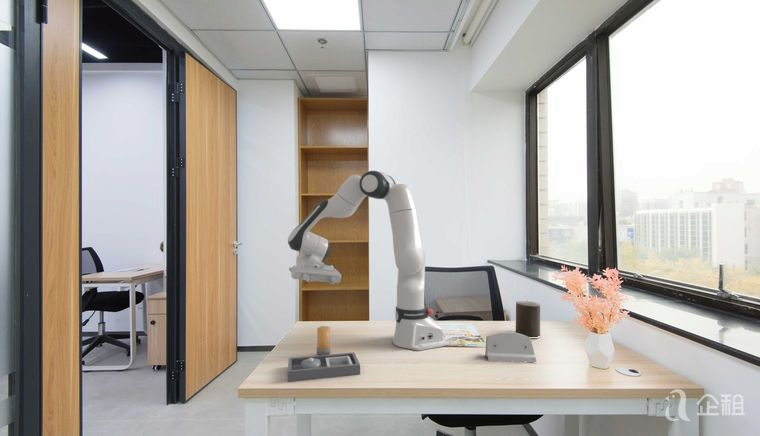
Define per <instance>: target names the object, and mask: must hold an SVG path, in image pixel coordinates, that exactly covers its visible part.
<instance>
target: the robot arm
mask: <svg viewBox="0 0 760 436" xmlns="http://www.w3.org/2000/svg"><path fill="white" fill-rule="evenodd" d="M365 198H373V199H375V200H384V201H385V202H386V205H387V208H388V215H389V222H390V227H391V233H392V243H393V244H392V246H393V252H394V261H395V266H396V268H397V270H398V271H397V282H396V283H397V285H396V306H395V310H394V311H395V312H394V313H395V316H394V317H395V318H394V319H395V328H394V329H395V330H394V335H393V339H392V343H393V345H395V346H396V347H399V348H404V349H409V350H413V351H418V352H419V351H424V350H425V351H426V350H430V349H435V348H440V347H445V346H446V347H447V346H450V339H449V338H447V337H446V336H445V335H444V330H443V328H442V326H441V325H440V324H439V323H438V322H437V321H435V319H433V318H432V317H430V316H432V315H433V314H434V310H433V309H431V308H427V307H426V306H425V284H426V283H425V279H426V277H425V276H426V273H425V272H426V255H425V251H424V250H423V247H422V239H421V232H420V224H419V219H418V214H417V213H418V212H417V208H416V202H415V199H414V195H413V193H412V191H411V188H410V187H409V186H408V185H407V184H404V183H396V181H395V179H394V178H393V177H392V176H390V175H388V174H386V173H384V172H381V171H377V170H369V171H367V172H365V173H363V174H362V175H359V174H351V175H350V176H348V177H347V178H346V179H345V181H344V182H343V183H342V184H341V186H340V187H339V188H338V189H337V192H335V194H334V195H333V196H331V197H330V198H328V199H323V200H322V201H320V202H319V203H318V204H317V205H316V206H315V207H314V208H313V209H312V210H311V211H310V212H309V214H308V215H307V216H306V217H305V218H303V220H302V221H301V222H300V224H299V225H297V226H296V227H295V228H294V229H293V230H292V231H291V232H290V234H289V236H288V238H287V242H288V243H287V244H288V246H289V248H290V249H291V250H293V251H296V252H300V253H299V254H298V255H297V256H296V259H295V263H296V265H293V266H292V267H289V268H288V271H289V272H291V273H290V276H291V278H292V279H293V280H301V281H306V282H307V283H312V282H321V283H329V284H330V285H335V284H340V283H341V280H342V273H340V272H339V270H337V269H336V268H335V267H334V265H331V264H330V263H325V261H326V259H327V258H328V256H329V254H330V251H331V246H330V245H331V244H330V241H329V240H328V239H327V238H325V237H323V236H321V235H319V234H316V233H313V232H312V231H311V230H312V229H313V227H314V226H315V225H316V224H317V223H318V222H319V221H320V220H321V219H324V218H338V219H345V218H349V217H351V216H352V215H354V213H355V212H356V211H357V210H358V207H360V205H361V203H362V202H363V200H364V199H365ZM429 315H430V316H429Z"/></svg>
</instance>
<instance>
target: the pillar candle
mask: <svg viewBox="0 0 760 436" xmlns="http://www.w3.org/2000/svg"><path fill="white" fill-rule="evenodd" d="M515 302H516V303H515V333H519V334H522V335H525V336H528V337H538V336H540V337H541V304H540V303H538V302H535V301H529V300H528V299H526V300H524V301H523V300H521V301H519V300H518V301H515Z"/></svg>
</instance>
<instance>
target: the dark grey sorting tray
mask: <svg viewBox="0 0 760 436" xmlns="http://www.w3.org/2000/svg"><path fill="white" fill-rule="evenodd" d="M287 365H288V366H287V367H288V368H287V383H289V382H291V383H292V382H299V381H309V380H311V381H312V380H318V379H330V378H338V377H347V376H348V377H350V376H356V375H357V376H358V375H361V364H360V362H359V359H358V358H357V355H356V353H355V351H353V352H352V351H351V352H342V353H330V354H329V355H317V354H316V355H307V356H296V357H294V356H293V357H288V363H287Z"/></svg>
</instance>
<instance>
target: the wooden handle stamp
mask: <svg viewBox="0 0 760 436" xmlns="http://www.w3.org/2000/svg"><path fill="white" fill-rule="evenodd" d="M316 329H317V330H316V333H317V334H316V335H317V337H316V338H317V340H316V341H317V342H316V344H317V345H316V356H317V355H329V354H331V346H330V341H331V339H330V336H331V329H330V326H326V325H324V326H318V327H317V328H316Z"/></svg>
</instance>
